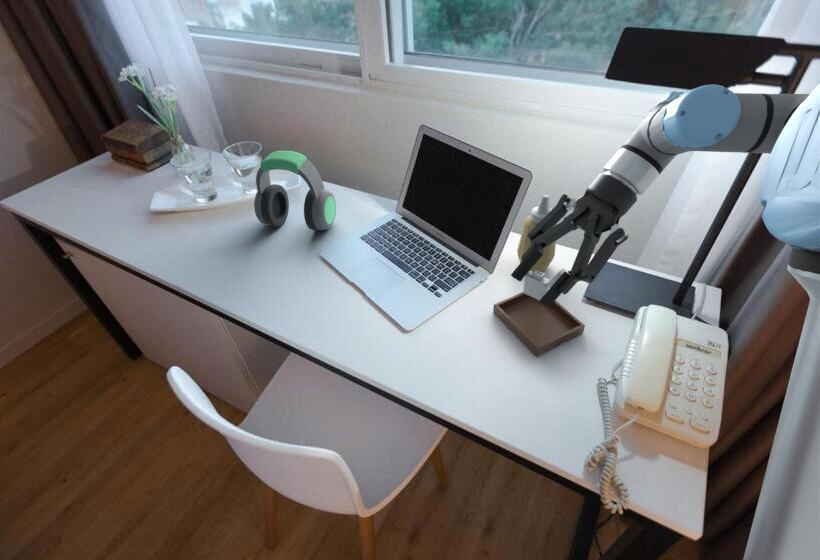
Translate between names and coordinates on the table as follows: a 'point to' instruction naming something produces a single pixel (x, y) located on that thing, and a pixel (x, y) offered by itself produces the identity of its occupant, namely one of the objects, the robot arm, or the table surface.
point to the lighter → (539, 283)
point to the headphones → (274, 197)
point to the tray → (538, 322)
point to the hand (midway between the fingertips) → (529, 290)
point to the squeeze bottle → (529, 224)
